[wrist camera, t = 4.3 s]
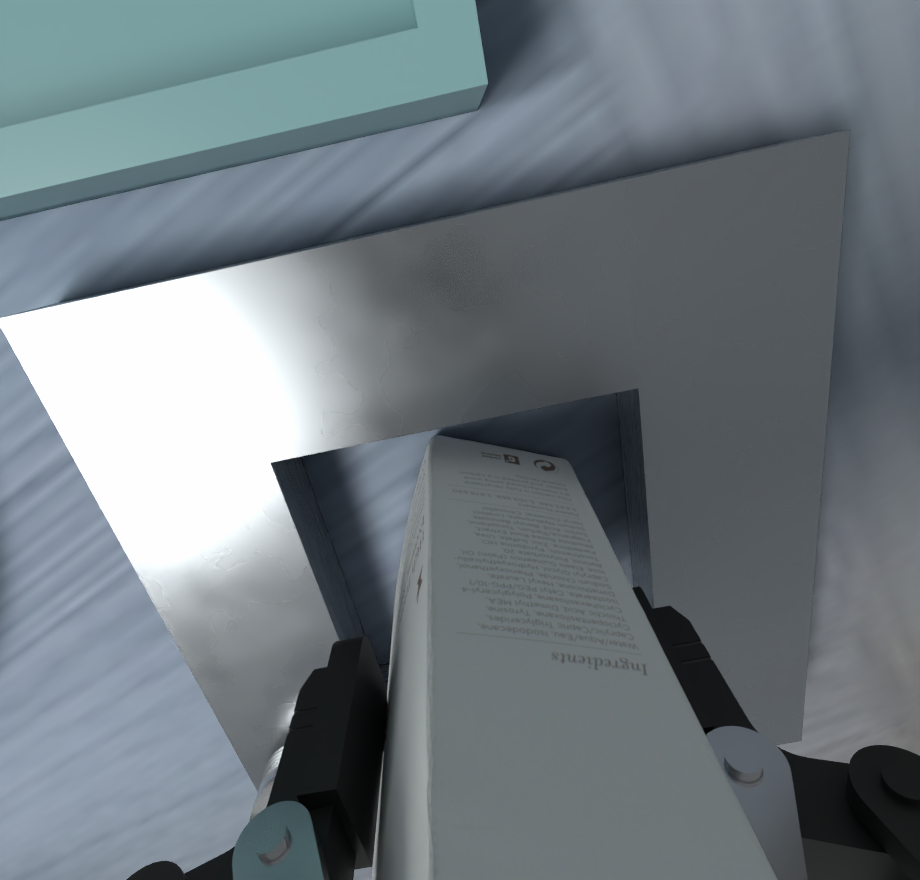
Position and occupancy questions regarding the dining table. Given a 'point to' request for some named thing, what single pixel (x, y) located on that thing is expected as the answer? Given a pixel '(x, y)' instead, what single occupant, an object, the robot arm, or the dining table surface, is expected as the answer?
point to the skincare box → (537, 697)
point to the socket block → (473, 408)
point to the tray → (213, 85)
